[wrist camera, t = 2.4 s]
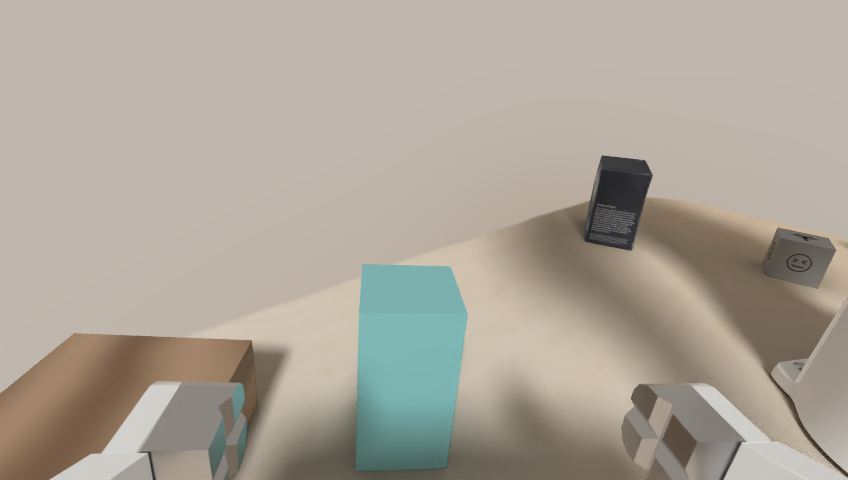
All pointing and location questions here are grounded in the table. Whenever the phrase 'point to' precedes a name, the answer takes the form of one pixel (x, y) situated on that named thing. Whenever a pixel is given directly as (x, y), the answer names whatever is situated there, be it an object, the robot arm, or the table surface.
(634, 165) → the small box
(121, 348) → the walnut base
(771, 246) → the dice cube
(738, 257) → the table surface
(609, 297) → the table surface
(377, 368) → the teal pillar
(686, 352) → the table surface
